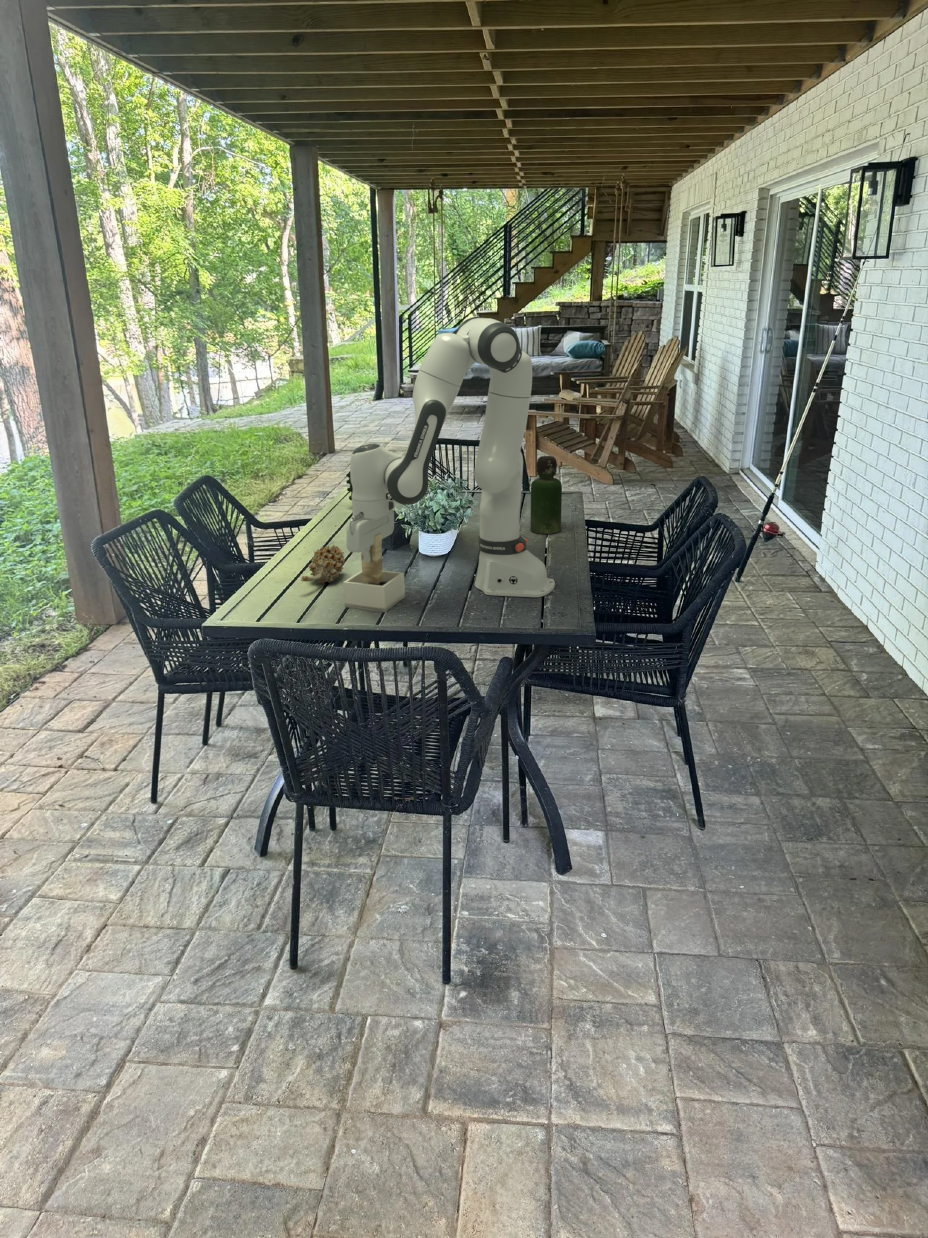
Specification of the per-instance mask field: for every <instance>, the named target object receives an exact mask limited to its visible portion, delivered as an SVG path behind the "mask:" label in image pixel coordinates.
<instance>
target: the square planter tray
mask: <svg viewBox="0 0 928 1238" xmlns="http://www.w3.org/2000/svg"><path fill="white" fill-rule="evenodd" d="M382 571H383V580H382V581H386V582H387V583H386V584H384V585H383V586H380V585H372V584H368V582H363V579H362V570H360V571H359V572H356V573H355V574H353V575H352V576H351V577H348V578H347V579H346V580H344V581H343V583H342V584H343V586H342V587H343V598H344V608H351V609H357V610H364V611H372V612H381V613H387V611H389V610H391V609H392V608H393V607H395V606H396V605H397V604H398V603H400V602H401V601H402V600H404V599H406V588H405V585H406V584H405V583H406V582H405V572H398V571H390V570H382Z"/></svg>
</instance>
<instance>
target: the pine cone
mask: <svg viewBox="0 0 928 1238" xmlns="http://www.w3.org/2000/svg"><path fill="white" fill-rule="evenodd" d="M313 552H314V553H313V554H314V555H313V556H312V557H311V563H310V564H308V568H309V571H310V572H311V573H310V576H308V575H301V577H300V581H301V582H306V583H307V582H312V581H318V583H319V584H323V585H324V584H325V582H327V583H330V584H331V582H333V581H334V580H335V579H336V578H339V576H340V575H339V574H340V573H341V572H342V571H343V569H344V567H343V566H344V564H345V563H346V561H345V552H344V551H343V550H342V549H341V548H339V546H337V545H335V544H333V545H332V546H331V547H330V545H328V546H327V545H326V546H321V547H320V549H319V548H317V549H316V551H315V550H314V551H313Z"/></svg>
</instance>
